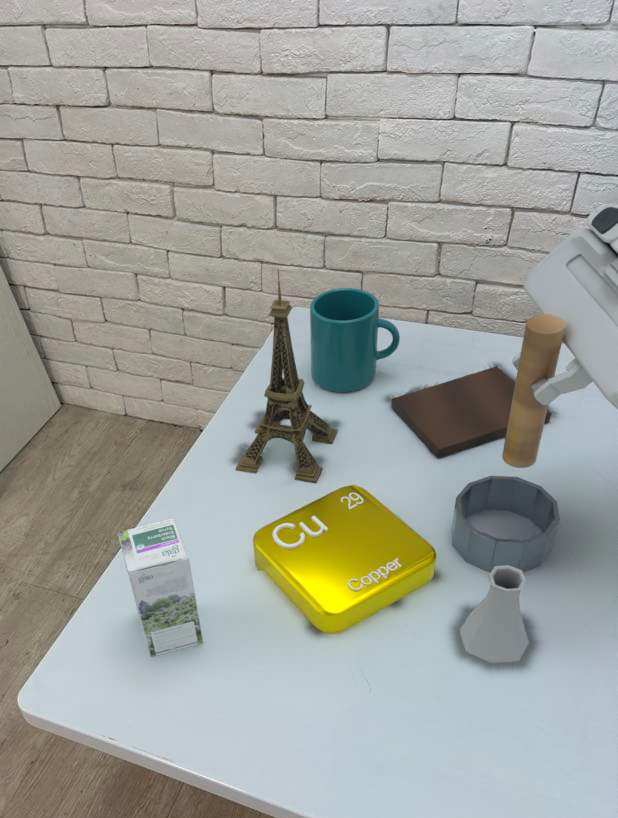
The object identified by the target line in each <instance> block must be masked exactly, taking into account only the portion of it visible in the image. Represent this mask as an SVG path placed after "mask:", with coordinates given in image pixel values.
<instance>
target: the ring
mask: <svg viewBox="0 0 618 818" xmlns="http://www.w3.org/2000/svg"><path fill="white" fill-rule="evenodd" d="M558 505H559V504H558V501H557V500H556V499H555V498H554V497H553V496H552V495H551V494H550V493H549V492H548V491H547V490H546V489H545V488H544V487H543V486H541V485H540V484H537V483H534V482H531V481H529V480H526V479H524V478H521V477H519V476H505V475H489V476H485V477H482V478H480V479H477V480H474V481H471V482H468V483H467V484H466V485H465V486H464V488H463V489H462V490H461V491H460V492H459V493H458V494H457V496H456V497H455V502H454V509H453V514H452V515H453V516H452V521H451V529H450V530H451V545H452V547H453V548H454V550H455V551H456V552H457V553H458V555H460V557H461V558H462V559H463V561H464V562H465V563H468V564H469V565H472V566H474V567H476V568H478V569H480V570H482V571H485V572H487V573H488V574H490V573H491V571H492V570H493V568H494V567H495V566H506V565H509V566H512V567H515V568H517V569H520V570H522V571H523V573H525V572H528V571H531V570H533V569H537V568H539V567H541V566H542V564H543V563H544V562H545V560H546V559H547V558H548V556H549V555H550V553H551V552H552V549H553V547H554V546H553V545H554V543H555V539H556V535H557V531H558V528H559V524H560V520H561V518H560V510H559V506H558ZM486 510H489V511H490V510H491V511H509V512H511V513H514V514H517V515H519V516H521V517H525V518H526V519H529V520H530V521H531V522H532V523H533V524H534V525H535V526H536V527H537V528H538V529H539V530H540V531H541V532H542V533H540V534H537V535H533V536H531V537H528V538H525V539H512V538H511V539H509V538H496V537H495V536H492V535H490V534H487V533H485V532H484V531H483V532H482V531H480V530H478V529H475V527H474V526H473V525H472V524H471V523H470V522H469V521H468V520H467V519H466V518H467V517H468V516H471V515H474V514H476V513H480V512H483V511H486Z"/></svg>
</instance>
